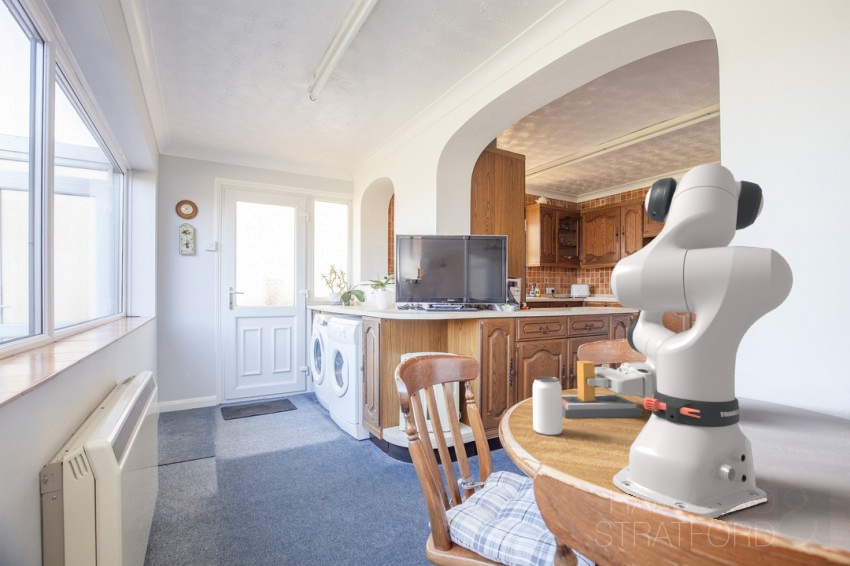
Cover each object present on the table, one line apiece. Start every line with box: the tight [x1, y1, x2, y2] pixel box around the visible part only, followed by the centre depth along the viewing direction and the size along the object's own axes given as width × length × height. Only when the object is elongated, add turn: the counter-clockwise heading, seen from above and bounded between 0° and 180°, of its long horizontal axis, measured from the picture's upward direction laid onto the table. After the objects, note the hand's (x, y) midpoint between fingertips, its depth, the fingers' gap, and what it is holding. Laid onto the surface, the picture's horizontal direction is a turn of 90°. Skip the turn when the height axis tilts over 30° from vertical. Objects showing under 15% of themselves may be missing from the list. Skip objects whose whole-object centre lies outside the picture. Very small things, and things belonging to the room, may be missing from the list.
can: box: [532, 375, 563, 437], centre depth 91 cm, size 6×6×12 cm
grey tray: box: [562, 393, 643, 419], centre depth 107 cm, size 20×11×3 cm, turn 92°
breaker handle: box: [573, 360, 601, 403], centre depth 107 cm, size 5×6×11 cm
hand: (582, 379), depth 107 cm, fingers closed on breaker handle, 4 cm apart
